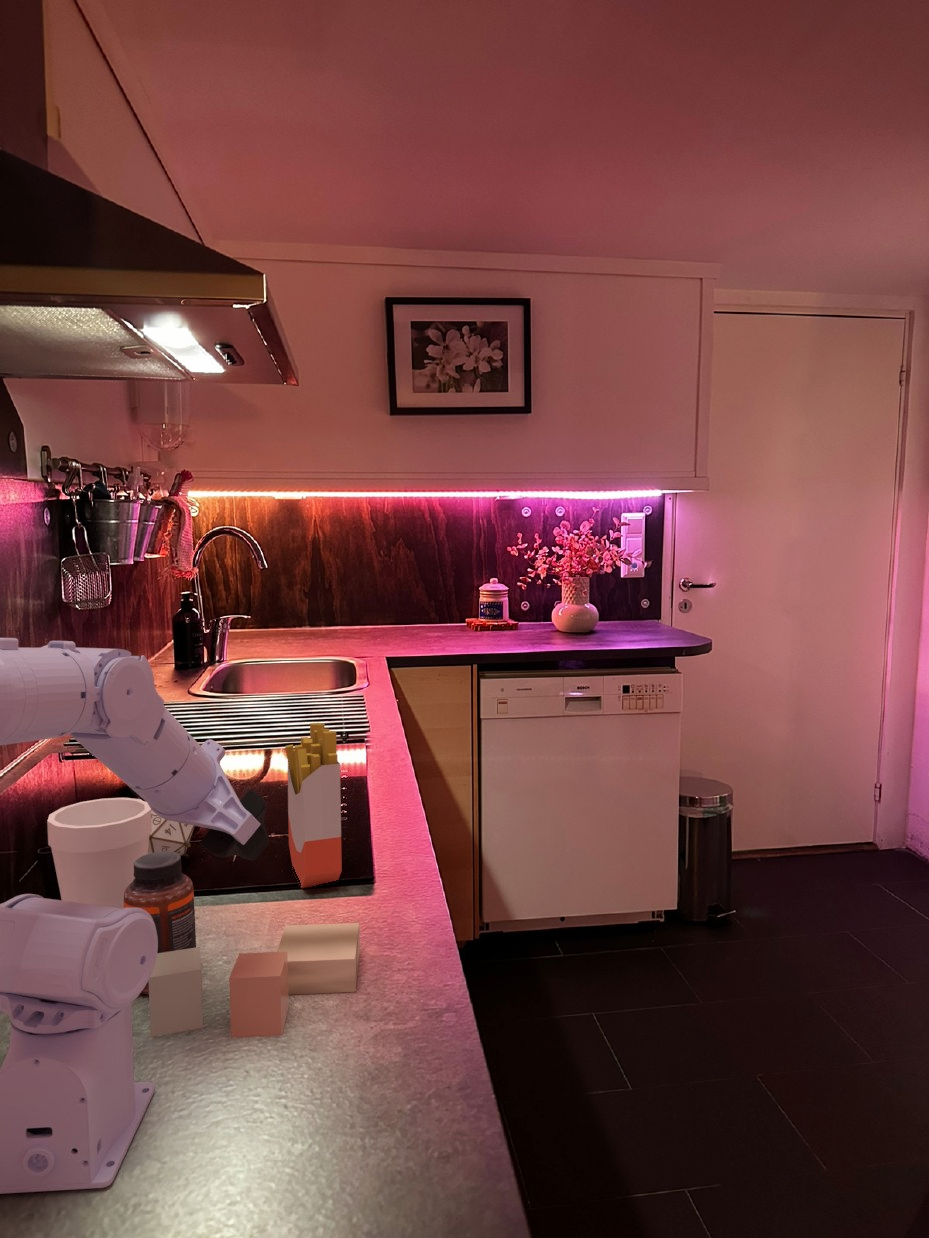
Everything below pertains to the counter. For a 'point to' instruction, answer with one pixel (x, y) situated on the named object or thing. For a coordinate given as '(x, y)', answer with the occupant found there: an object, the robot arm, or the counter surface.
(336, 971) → the birch slab
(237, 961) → the terracotta block
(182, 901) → the supplement bottle
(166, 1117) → the counter surface
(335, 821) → the french fries container
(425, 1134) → the counter surface
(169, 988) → the beige block
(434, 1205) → the counter surface
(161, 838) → the game die
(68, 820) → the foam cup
